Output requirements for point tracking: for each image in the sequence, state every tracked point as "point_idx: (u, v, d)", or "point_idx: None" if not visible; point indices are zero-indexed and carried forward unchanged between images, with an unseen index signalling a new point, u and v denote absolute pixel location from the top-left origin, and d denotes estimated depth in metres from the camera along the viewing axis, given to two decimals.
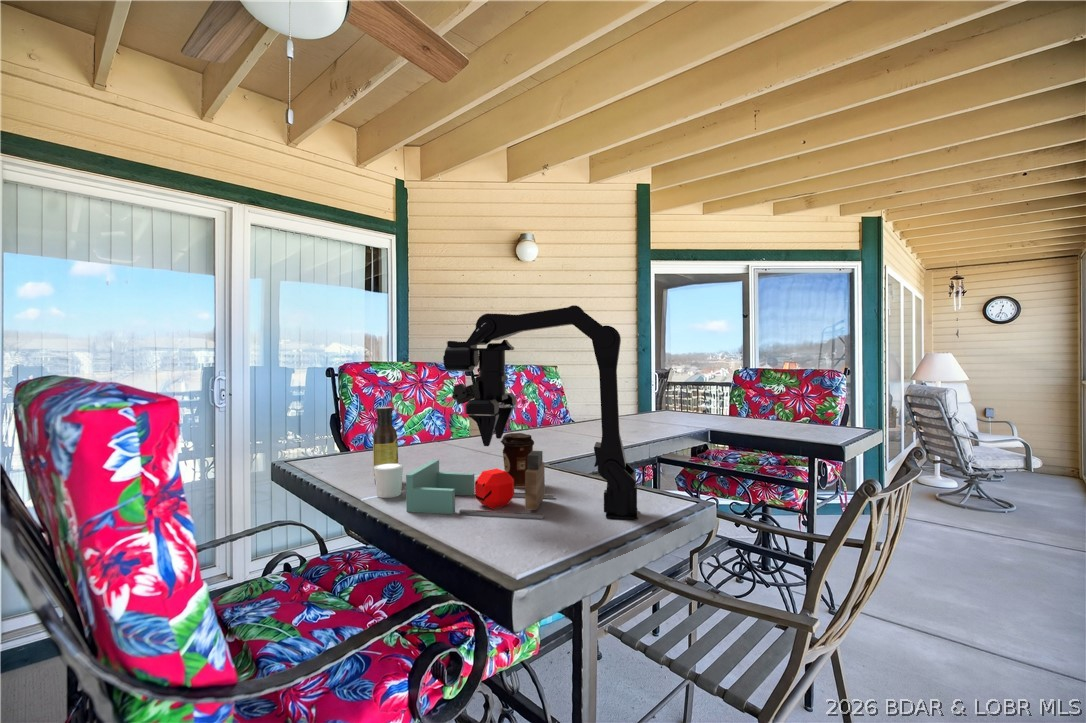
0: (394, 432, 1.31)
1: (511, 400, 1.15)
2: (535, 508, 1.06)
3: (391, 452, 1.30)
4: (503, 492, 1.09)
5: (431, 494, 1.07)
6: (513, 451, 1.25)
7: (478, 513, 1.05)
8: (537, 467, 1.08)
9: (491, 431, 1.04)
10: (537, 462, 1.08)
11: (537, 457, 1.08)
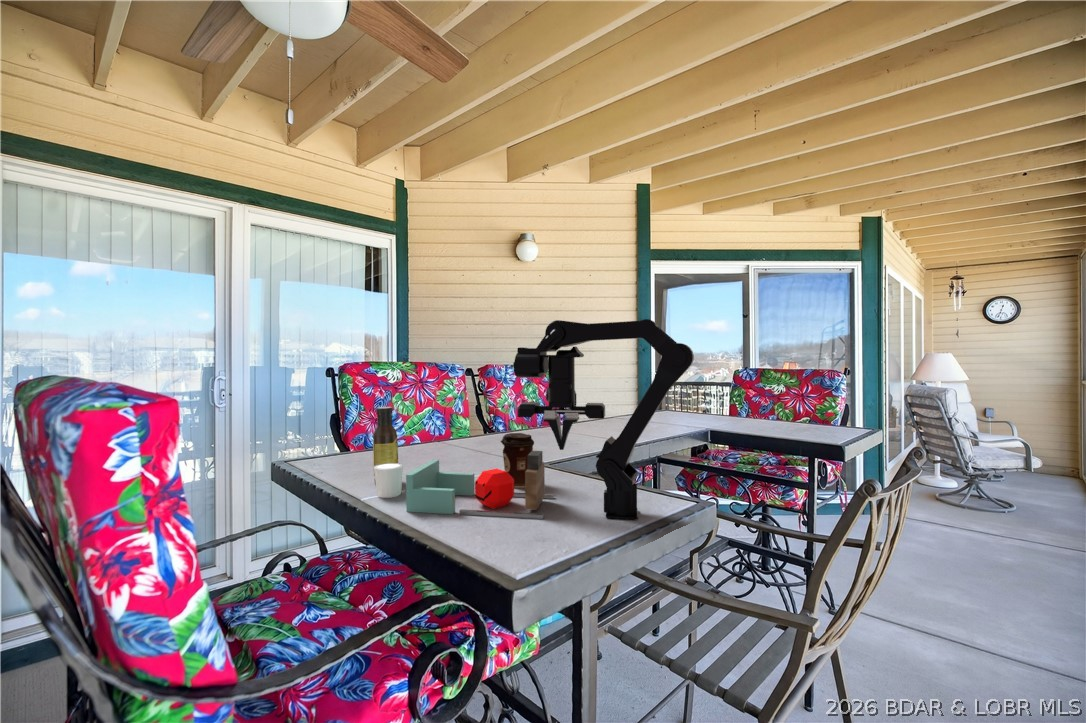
0: (394, 432, 1.31)
1: None
2: (535, 508, 1.06)
3: (391, 452, 1.30)
4: (503, 492, 1.09)
5: (431, 494, 1.07)
6: (513, 451, 1.25)
7: (478, 513, 1.05)
8: (537, 467, 1.08)
9: None
10: (537, 462, 1.08)
11: (537, 457, 1.08)
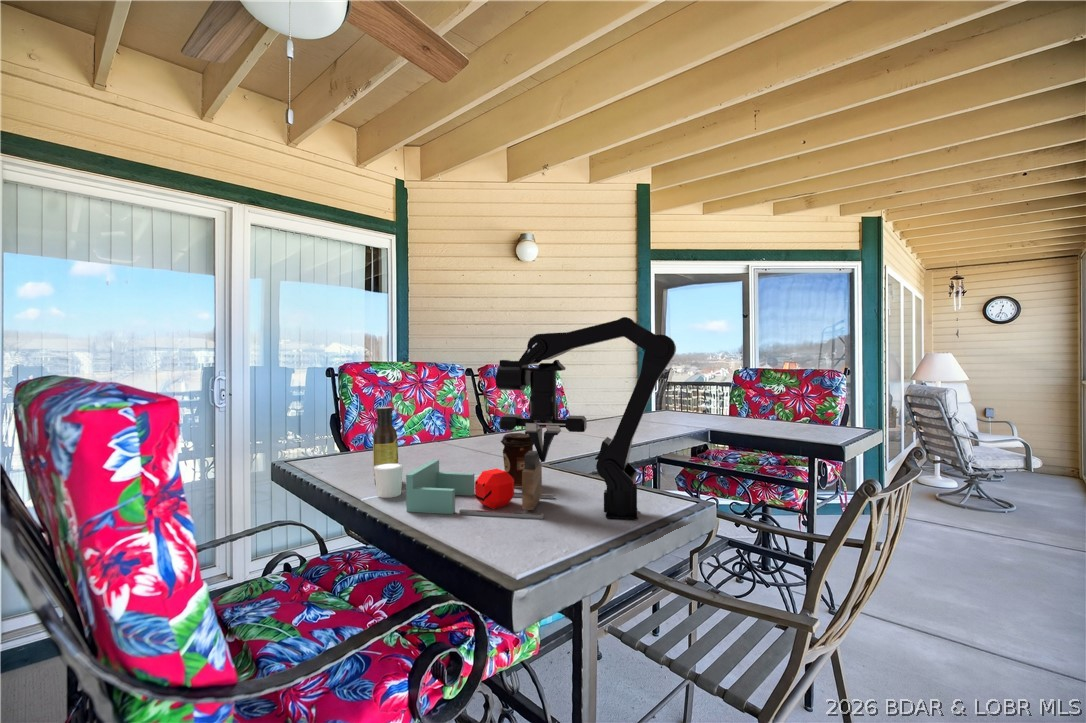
0: (394, 432, 1.31)
1: (566, 425, 1.06)
2: (532, 508, 1.06)
3: (391, 452, 1.30)
4: (503, 492, 1.09)
5: (431, 494, 1.07)
6: (513, 451, 1.25)
7: (478, 513, 1.05)
8: (534, 467, 1.08)
9: (535, 447, 1.09)
10: (534, 462, 1.08)
11: (534, 457, 1.08)
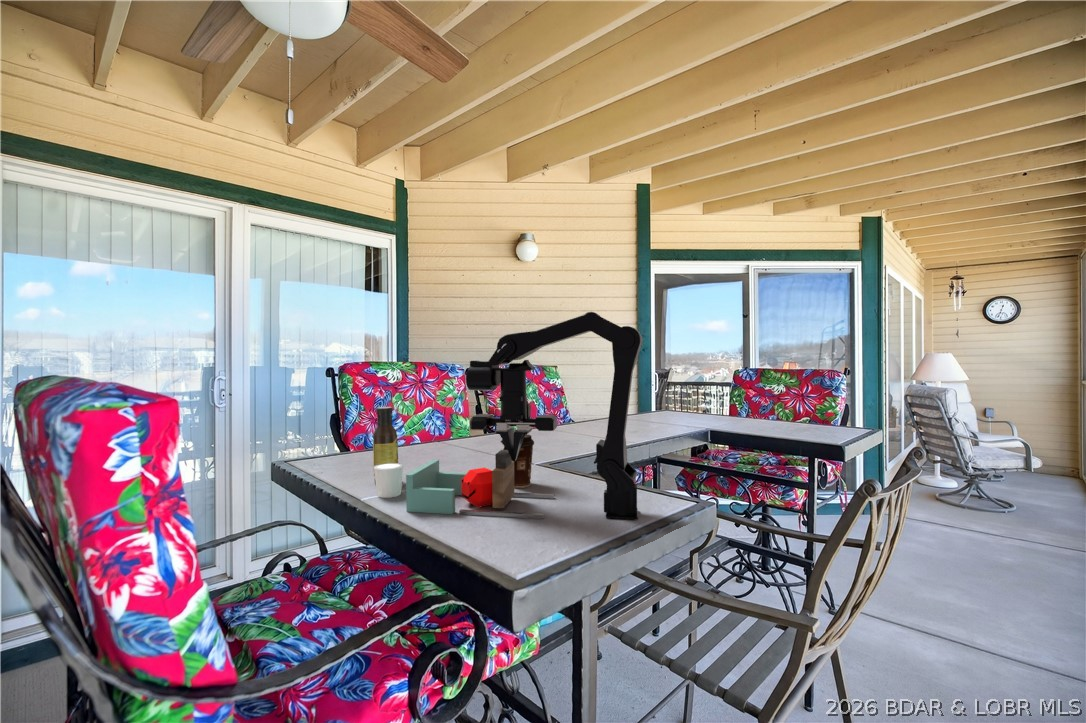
0: (394, 432, 1.31)
1: None
2: (502, 506, 1.07)
3: (391, 452, 1.30)
4: (488, 491, 1.10)
5: (431, 494, 1.07)
6: None
7: (478, 513, 1.05)
8: (505, 466, 1.09)
9: None
10: (505, 461, 1.09)
11: (505, 456, 1.09)
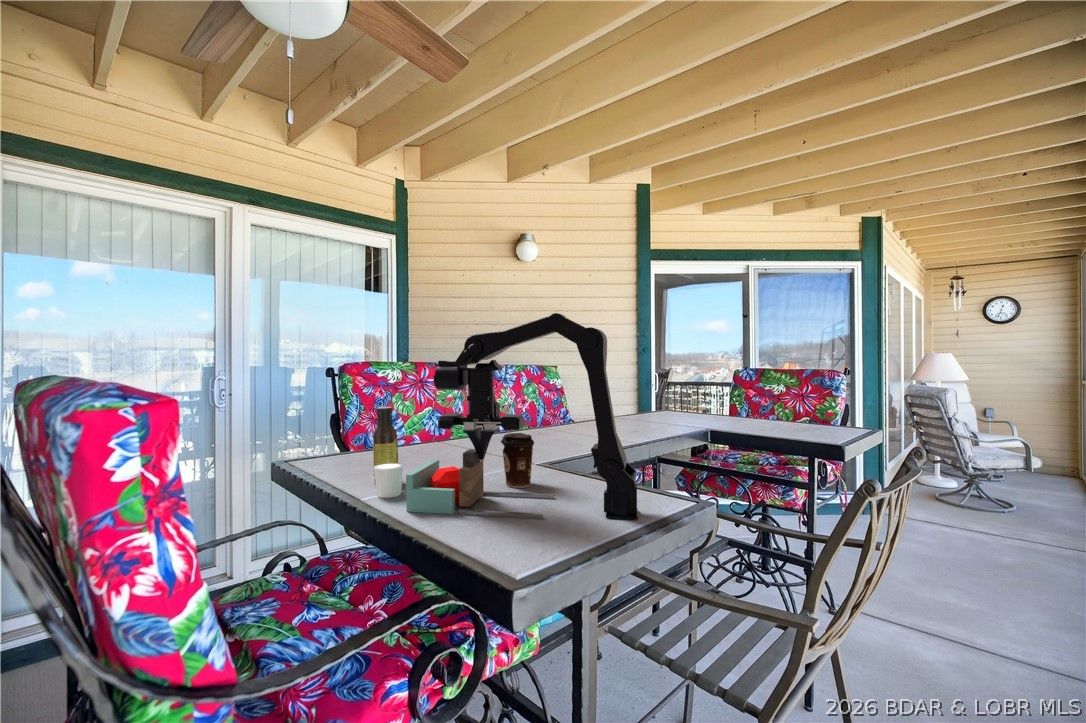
0: (394, 432, 1.31)
1: None
2: (469, 505, 1.08)
3: (391, 452, 1.30)
4: (455, 489, 1.11)
5: (431, 494, 1.07)
6: (513, 451, 1.25)
7: (478, 513, 1.05)
8: (472, 465, 1.10)
9: None
10: (472, 460, 1.10)
11: (472, 455, 1.10)
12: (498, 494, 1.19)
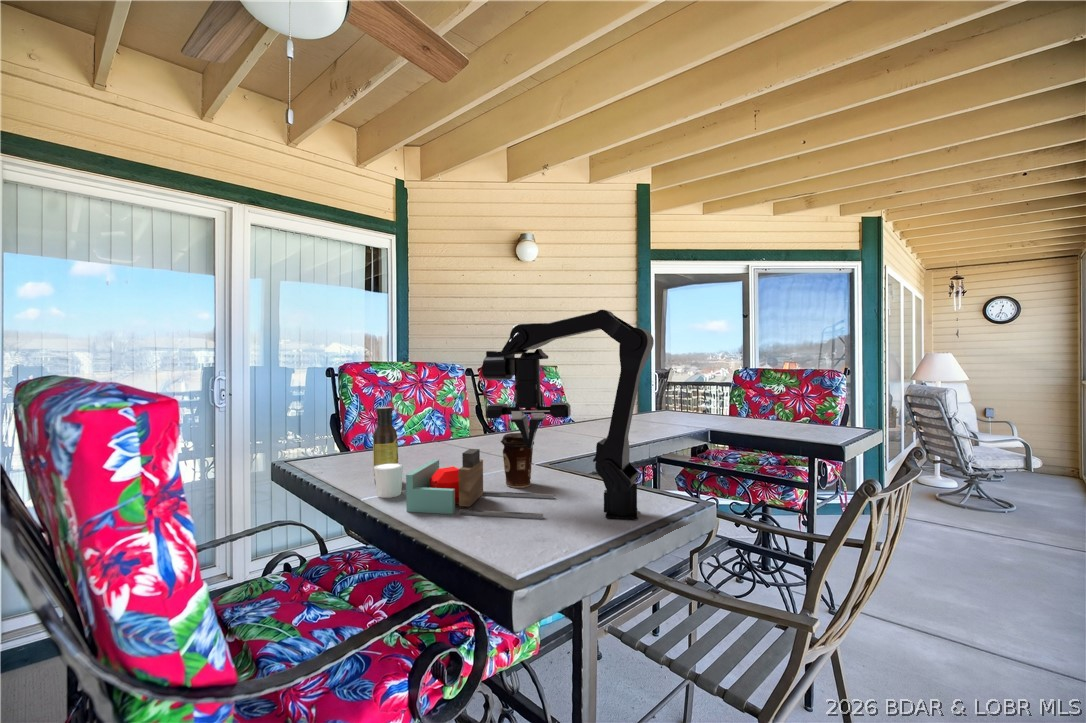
0: (394, 432, 1.31)
1: None
2: (468, 505, 1.08)
3: (391, 452, 1.30)
4: (455, 490, 1.11)
5: (431, 494, 1.07)
6: (513, 451, 1.25)
7: (478, 513, 1.05)
8: (472, 465, 1.10)
9: None
10: (472, 460, 1.10)
11: (472, 455, 1.10)
12: (498, 494, 1.19)
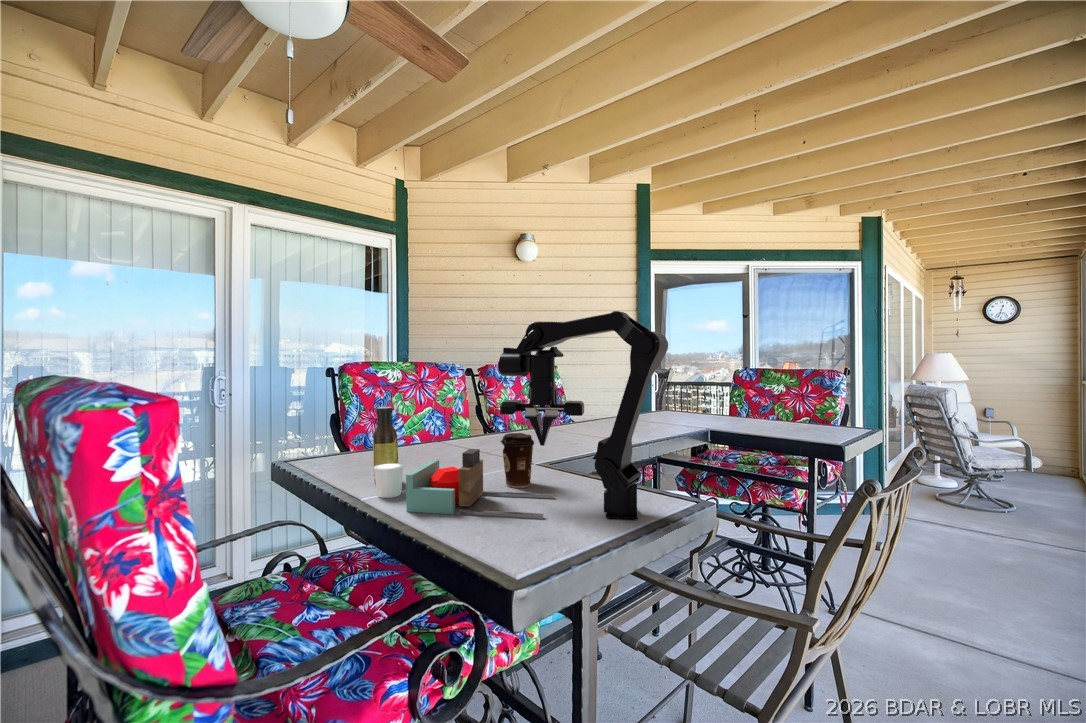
0: (394, 432, 1.31)
1: None
2: (468, 505, 1.08)
3: (391, 452, 1.30)
4: (455, 490, 1.11)
5: (431, 494, 1.07)
6: (513, 451, 1.25)
7: (478, 513, 1.05)
8: (472, 465, 1.10)
9: (535, 431, 1.13)
10: (472, 460, 1.10)
11: (472, 455, 1.10)
12: (498, 494, 1.19)
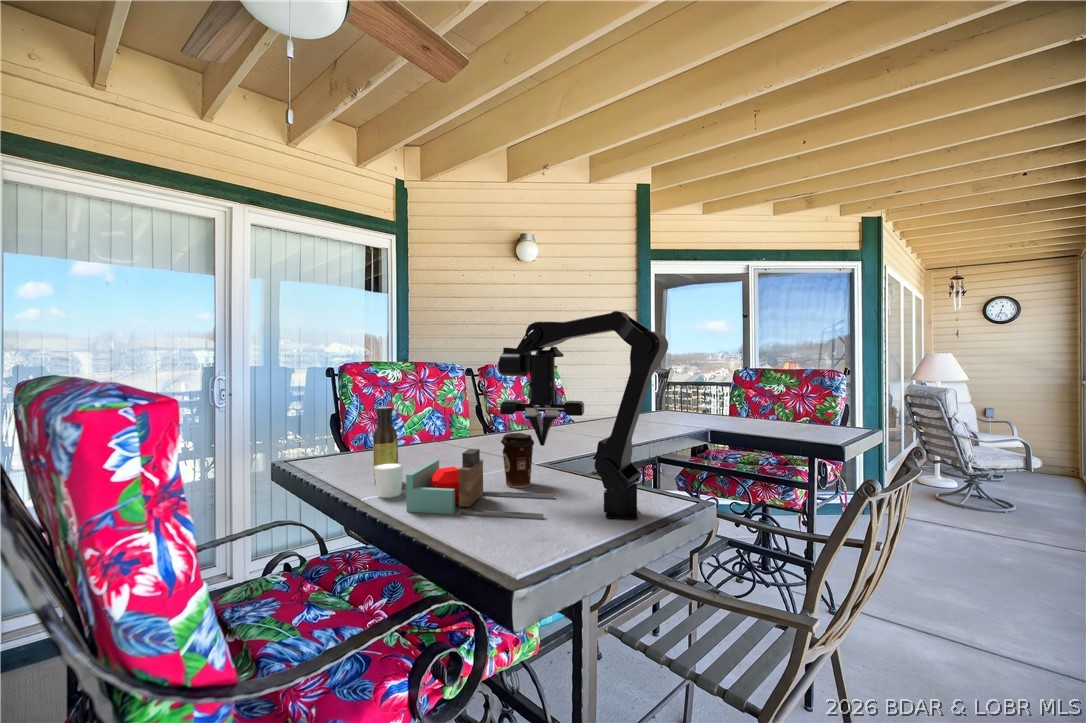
0: (394, 432, 1.31)
1: None
2: (468, 505, 1.08)
3: (391, 452, 1.30)
4: (455, 490, 1.11)
5: (431, 494, 1.07)
6: (513, 451, 1.25)
7: (478, 513, 1.05)
8: (472, 465, 1.10)
9: (535, 431, 1.13)
10: (472, 460, 1.10)
11: (472, 455, 1.10)
12: (498, 494, 1.19)
